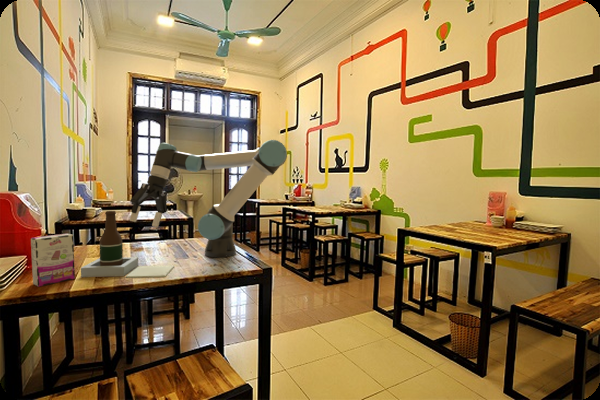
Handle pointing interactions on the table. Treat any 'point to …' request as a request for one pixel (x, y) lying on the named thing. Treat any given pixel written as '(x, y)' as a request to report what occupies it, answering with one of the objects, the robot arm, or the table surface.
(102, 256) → the beer bottle
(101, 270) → the grey square tray
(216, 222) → the robot arm
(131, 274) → the mat
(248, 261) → the table surface
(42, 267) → the candy bar box
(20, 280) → the table surface
